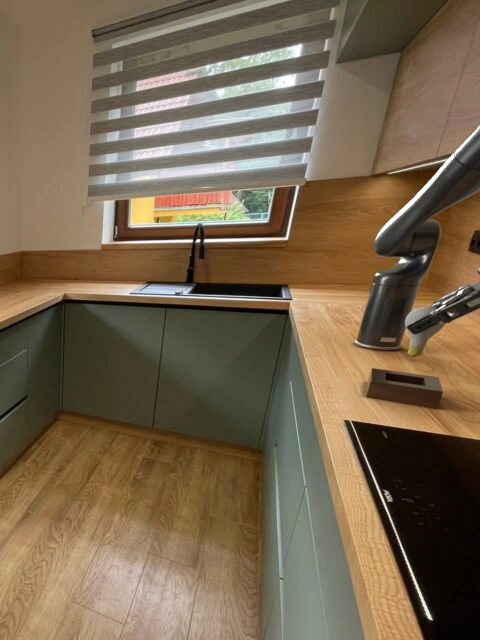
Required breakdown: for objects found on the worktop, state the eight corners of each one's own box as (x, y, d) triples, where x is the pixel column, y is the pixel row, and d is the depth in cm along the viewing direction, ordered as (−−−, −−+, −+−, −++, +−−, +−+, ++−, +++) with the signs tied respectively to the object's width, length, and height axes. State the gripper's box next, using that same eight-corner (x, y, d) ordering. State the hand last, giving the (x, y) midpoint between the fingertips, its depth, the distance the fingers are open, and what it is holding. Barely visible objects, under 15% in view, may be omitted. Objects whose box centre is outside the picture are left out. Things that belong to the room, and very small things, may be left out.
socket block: (367, 382, 95) (371, 367, 94) (432, 392, 88) (438, 376, 87) (365, 396, 88) (370, 380, 87) (436, 408, 82) (443, 391, 80)
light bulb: (422, 353, 87) (438, 304, 83) (440, 361, 82) (458, 309, 79) (388, 352, 89) (403, 304, 85) (404, 359, 84) (420, 308, 80)
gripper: (503, 248, 78) (394, 307, 90) (520, 253, 69) (395, 319, 80) (537, 278, 77) (421, 335, 89) (559, 289, 67) (426, 350, 79)
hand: (409, 327), depth 84 cm, fingers closed on light bulb, 5 cm apart
